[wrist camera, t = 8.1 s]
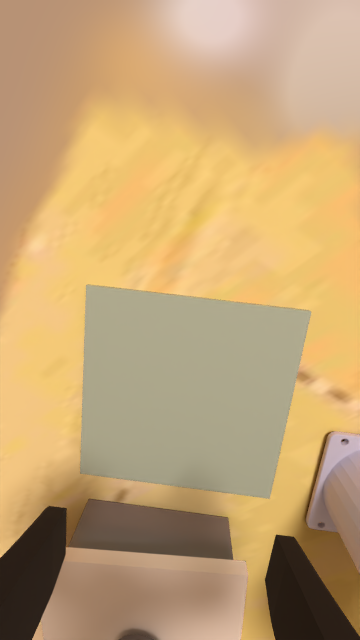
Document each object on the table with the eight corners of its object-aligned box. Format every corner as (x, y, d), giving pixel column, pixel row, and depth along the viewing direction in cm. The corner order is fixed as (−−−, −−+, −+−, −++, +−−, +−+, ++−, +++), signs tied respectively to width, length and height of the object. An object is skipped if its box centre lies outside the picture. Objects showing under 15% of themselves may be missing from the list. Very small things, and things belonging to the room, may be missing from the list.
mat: (308, 310, 18) (311, 311, 18) (268, 494, 22) (269, 498, 21) (88, 284, 19) (86, 285, 18) (82, 469, 22) (80, 473, 21)
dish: (228, 517, 22) (236, 584, 18) (209, 619, 25) (212, 700, 20) (88, 498, 22) (62, 560, 18) (84, 601, 25) (60, 677, 21)
